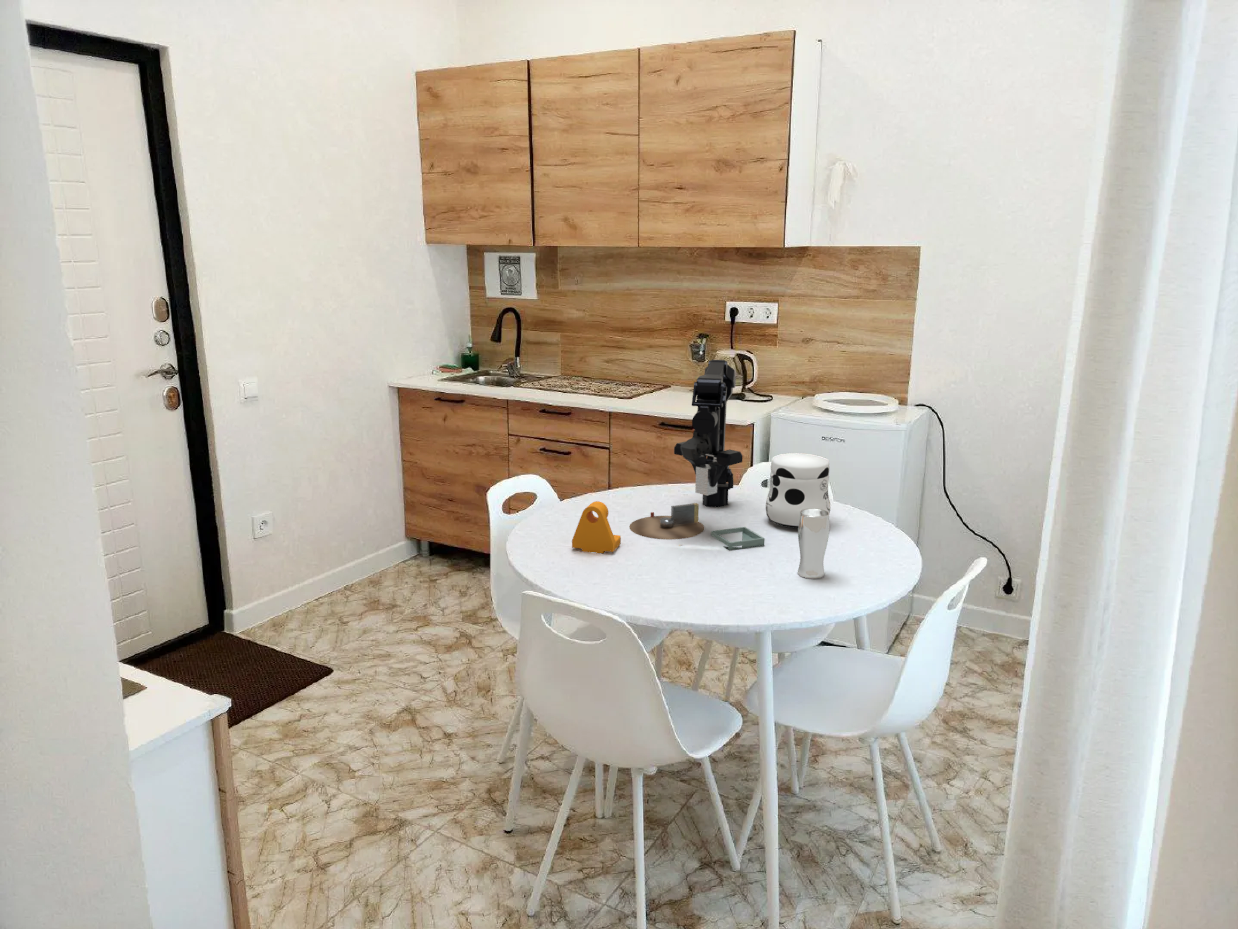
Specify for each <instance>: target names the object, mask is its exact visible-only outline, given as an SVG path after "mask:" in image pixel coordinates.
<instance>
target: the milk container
mask: <svg viewBox="0 0 1238 929" xmlns="http://www.w3.org/2000/svg"><path fill="white" fill-rule="evenodd" d="M769 475H770V476H769V477H770V480H769V483H770V484H769V491H768V494H767V496H766V500H765V512H766V516H767V518H768V520H769V521H771V523H774V524H775V525H778V526H781V527H785V528H792V529H798V525H799V517H800V511H801V510H803V509H808V508H816V509H822V510H825V511H828V512H829V515H830V513H831V501H830V495H829V483H830V482H829V481H830V460H829V459H828V458H826V457H824V456H821V455H818V454H817V455H816V454H811V453H804V452H803V453H801V452H797V453H796V452H790V453H789V452H788V453H781V454H777V455H774V456H773V457H772V458H771V462H770V474H769Z"/></svg>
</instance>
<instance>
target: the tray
mask: <svg viewBox="0 0 1238 929" xmlns="http://www.w3.org/2000/svg"><path fill="white" fill-rule="evenodd" d="M734 533H741V534H742V535H741V536H742V537H741V540H738V541H729V540H728V539H726V538H724V536H721V535H727V534H734ZM710 536H711V537H714V539H716V540H718V541H719V542H721V543H722V544H724V546H722V547H723V548H725V549H726V550H727V551H729V552H730V551H737V550H743V549H751V548H758V547H759V548H760V547H765V539H766V538H765V537H763V536H761V535H759V534H758V533H756V532H754V531H753V530H751V529H750V528H748V527H746V526H740V527H734V528H725V529H717V530H711V531H710Z"/></svg>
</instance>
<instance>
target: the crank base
mask: <svg viewBox="0 0 1238 929" xmlns="http://www.w3.org/2000/svg"><path fill="white" fill-rule="evenodd" d="M665 517H668V518H671V515H655V513H654V512H653V511H651V512H650V516H647V517H641V518H638V519H635V520H633V521H632V522H631V523H630V524H629V530H630V531H631V532H632V533H633V534H635V535H638V536H640V537H644V538H648V539H654V540H655V539H656V540H667V541H668V540H671V541H672V540H682V539H689V538H693V537H696V536H699V535H700V534H702V533H703V532H704V531H705V526H704V524H703V523H702V522H700V521H698V522H696V523H687V524H679V525H674V526H673V527H662V526H660V519H661V518H665Z"/></svg>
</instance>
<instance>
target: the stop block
mask: <svg viewBox="0 0 1238 929" xmlns="http://www.w3.org/2000/svg"><path fill="white" fill-rule="evenodd" d="M695 493H696V494H699V495H702V496H703V495H707V496H708V495H711V494H714V493H717V483H716V485H715V487H711V467H710V465H708V464H704V465H700V466H696V475H695Z"/></svg>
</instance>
